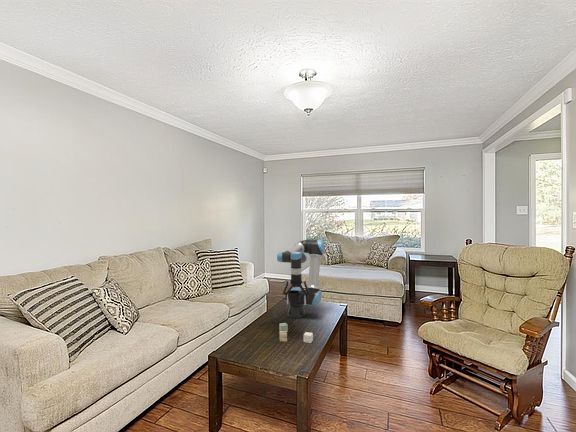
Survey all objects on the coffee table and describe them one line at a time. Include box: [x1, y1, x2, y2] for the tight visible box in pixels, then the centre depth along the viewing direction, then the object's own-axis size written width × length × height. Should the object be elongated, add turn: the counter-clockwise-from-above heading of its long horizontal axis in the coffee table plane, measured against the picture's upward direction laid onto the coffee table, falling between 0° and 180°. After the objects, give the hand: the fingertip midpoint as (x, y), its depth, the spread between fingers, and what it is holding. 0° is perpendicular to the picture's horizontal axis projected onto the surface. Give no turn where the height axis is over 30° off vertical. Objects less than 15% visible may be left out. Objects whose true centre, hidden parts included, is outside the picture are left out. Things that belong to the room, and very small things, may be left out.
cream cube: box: [303, 331, 314, 344], centre depth 201 cm, size 5×5×5 cm
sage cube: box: [278, 322, 289, 333], centre depth 218 cm, size 5×5×5 cm
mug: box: [288, 290, 305, 306], centre depth 212 cm, size 8×12×10 cm
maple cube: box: [279, 330, 288, 343], centre depth 203 cm, size 5×5×5 cm
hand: (296, 304), depth 212 cm, fingers closed on mug, 12 cm apart
